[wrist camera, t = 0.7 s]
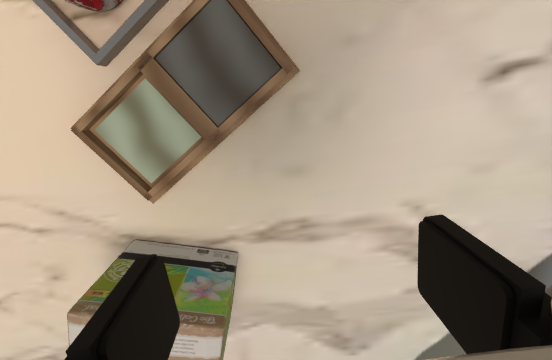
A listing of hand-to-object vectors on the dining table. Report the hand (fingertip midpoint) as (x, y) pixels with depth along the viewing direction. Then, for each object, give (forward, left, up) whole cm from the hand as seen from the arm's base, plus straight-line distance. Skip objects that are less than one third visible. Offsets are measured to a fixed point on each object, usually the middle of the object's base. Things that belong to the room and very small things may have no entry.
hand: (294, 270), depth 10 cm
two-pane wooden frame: (+5, -11, -28) cm, 30 cm away
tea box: (+23, +6, -28) cm, 37 cm away
